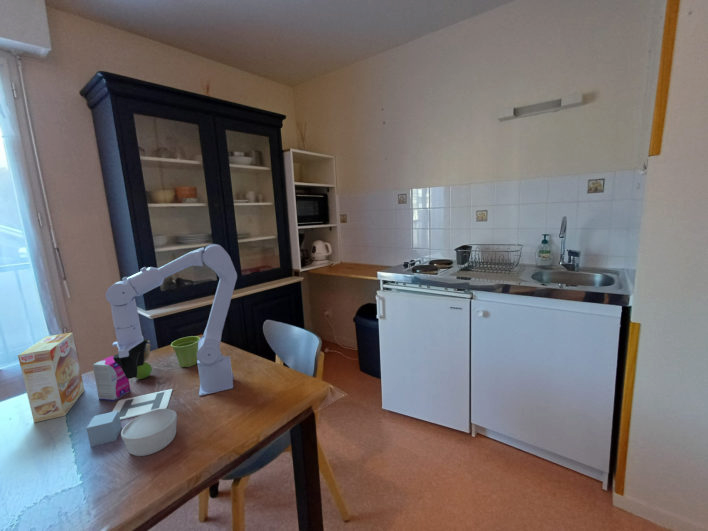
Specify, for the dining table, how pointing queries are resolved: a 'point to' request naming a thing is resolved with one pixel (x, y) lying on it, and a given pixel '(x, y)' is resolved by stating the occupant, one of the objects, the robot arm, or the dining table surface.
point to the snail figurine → (144, 365)
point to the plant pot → (186, 350)
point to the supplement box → (110, 380)
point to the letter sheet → (142, 404)
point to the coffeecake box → (51, 376)
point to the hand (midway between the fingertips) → (135, 371)
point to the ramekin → (150, 432)
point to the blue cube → (104, 428)
